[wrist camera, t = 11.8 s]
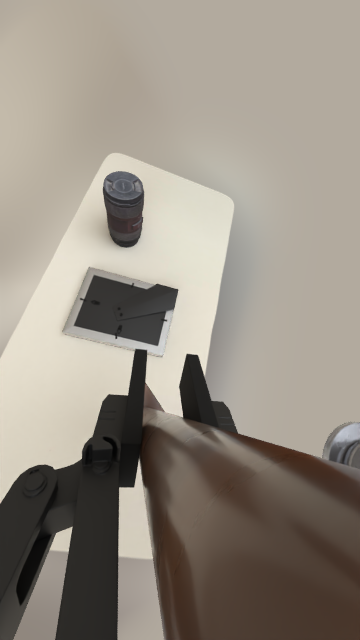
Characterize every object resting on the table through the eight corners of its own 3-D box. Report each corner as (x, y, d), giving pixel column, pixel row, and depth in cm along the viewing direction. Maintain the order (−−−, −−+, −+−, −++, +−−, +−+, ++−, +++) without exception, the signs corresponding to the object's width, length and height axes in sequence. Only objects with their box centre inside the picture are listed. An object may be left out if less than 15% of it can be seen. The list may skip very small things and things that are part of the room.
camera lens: (137, 222, 60) (139, 169, 47) (144, 247, 58) (148, 199, 44) (106, 225, 58) (98, 169, 44) (112, 251, 56) (106, 202, 42)
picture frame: (176, 294, 55) (90, 271, 53) (178, 289, 53) (88, 264, 50) (162, 357, 50) (65, 334, 47) (163, 354, 47) (61, 330, 45)
